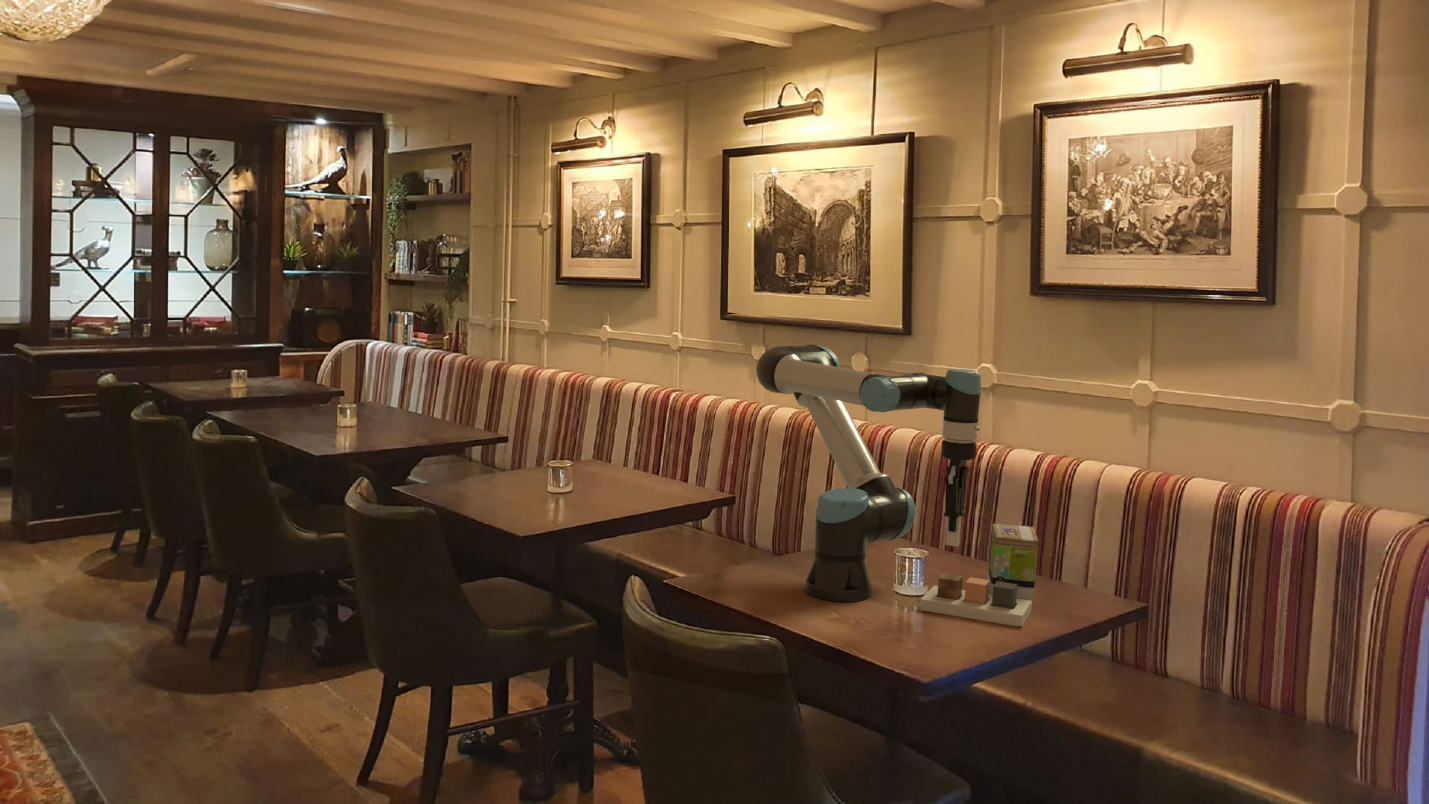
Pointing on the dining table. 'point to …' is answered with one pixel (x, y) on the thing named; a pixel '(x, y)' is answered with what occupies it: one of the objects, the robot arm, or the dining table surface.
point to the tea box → (1014, 558)
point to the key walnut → (950, 586)
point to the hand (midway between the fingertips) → (952, 544)
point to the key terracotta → (977, 590)
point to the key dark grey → (1004, 595)
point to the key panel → (976, 609)
